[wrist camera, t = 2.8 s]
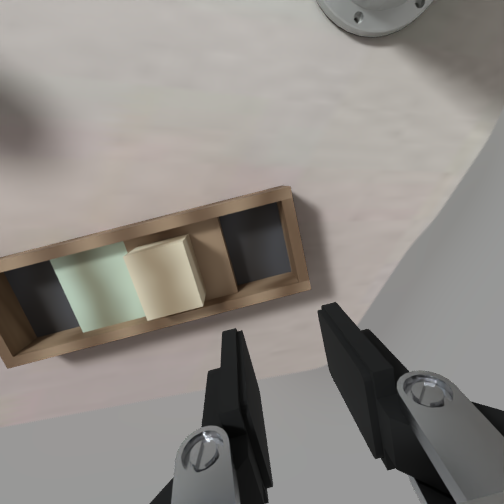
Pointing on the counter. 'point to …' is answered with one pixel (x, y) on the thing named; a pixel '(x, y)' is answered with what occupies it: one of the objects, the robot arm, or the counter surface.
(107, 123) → the counter surface
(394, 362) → the robot arm
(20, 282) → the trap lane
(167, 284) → the maple block
